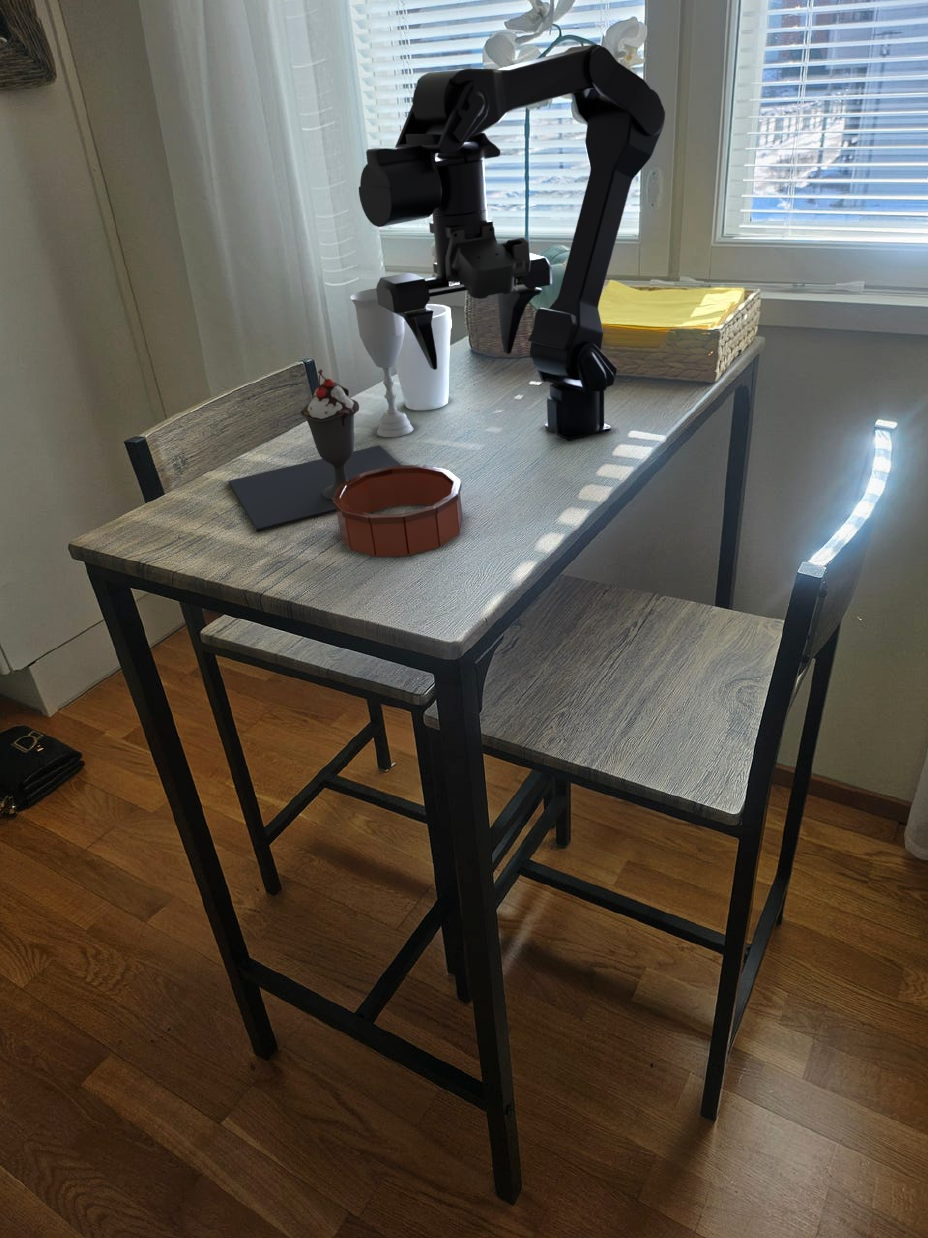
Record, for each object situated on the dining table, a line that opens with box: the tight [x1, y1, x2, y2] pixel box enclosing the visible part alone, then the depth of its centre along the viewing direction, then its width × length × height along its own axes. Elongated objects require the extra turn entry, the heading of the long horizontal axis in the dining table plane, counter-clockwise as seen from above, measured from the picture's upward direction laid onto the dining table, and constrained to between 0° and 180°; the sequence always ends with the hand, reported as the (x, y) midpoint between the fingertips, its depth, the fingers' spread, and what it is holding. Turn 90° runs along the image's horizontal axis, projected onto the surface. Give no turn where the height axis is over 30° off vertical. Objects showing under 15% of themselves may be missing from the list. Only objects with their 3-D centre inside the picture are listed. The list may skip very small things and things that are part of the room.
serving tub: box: [333, 464, 464, 558], centre depth 93 cm, size 13×13×4 cm
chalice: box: [349, 287, 414, 438], centre depth 116 cm, size 7×7×18 cm
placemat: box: [228, 444, 402, 533], centre depth 106 cm, size 20×16×1 cm
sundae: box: [298, 368, 360, 500], centre depth 99 cm, size 7×7×15 cm
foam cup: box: [394, 303, 453, 411], centre depth 126 cm, size 10×9×13 cm
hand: (471, 360), depth 100 cm, fingers open, 9 cm apart
